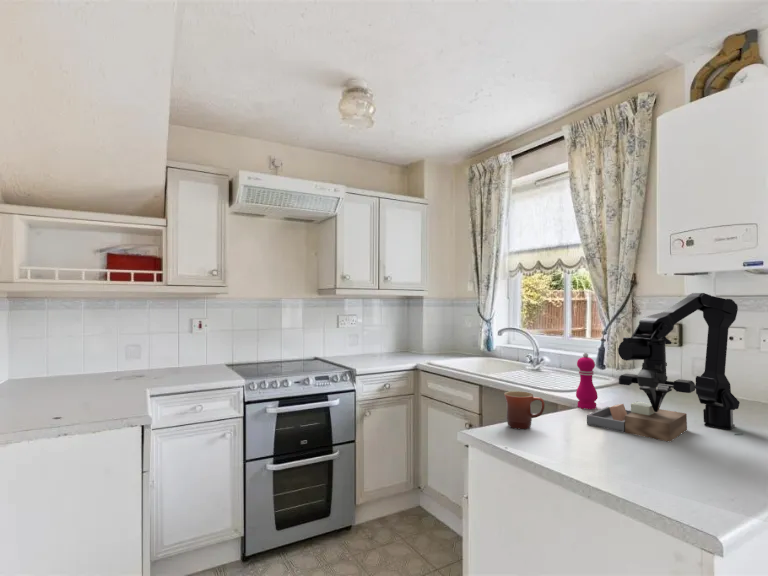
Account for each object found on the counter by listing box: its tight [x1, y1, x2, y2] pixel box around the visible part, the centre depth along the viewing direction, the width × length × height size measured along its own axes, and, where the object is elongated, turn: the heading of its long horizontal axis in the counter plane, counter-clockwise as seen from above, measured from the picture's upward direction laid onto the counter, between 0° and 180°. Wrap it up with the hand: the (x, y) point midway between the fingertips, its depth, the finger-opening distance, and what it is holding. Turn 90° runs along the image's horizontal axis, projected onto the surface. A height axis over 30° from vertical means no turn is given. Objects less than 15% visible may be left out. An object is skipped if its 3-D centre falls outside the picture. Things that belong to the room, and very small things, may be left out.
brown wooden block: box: [624, 408, 688, 443], centre depth 128 cm, size 12×16×5 cm
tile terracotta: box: [608, 403, 627, 421], centre depth 136 cm, size 5×5×2 cm
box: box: [586, 406, 632, 433], centre depth 137 cm, size 11×16×3 cm
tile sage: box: [630, 401, 655, 415], centre depth 131 cm, size 5×5×2 cm
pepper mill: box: [575, 352, 598, 410], centre depth 158 cm, size 7×7×20 cm
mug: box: [503, 390, 546, 430], centre depth 134 cm, size 12×9×10 cm
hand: (656, 411), depth 128 cm, fingers closed
